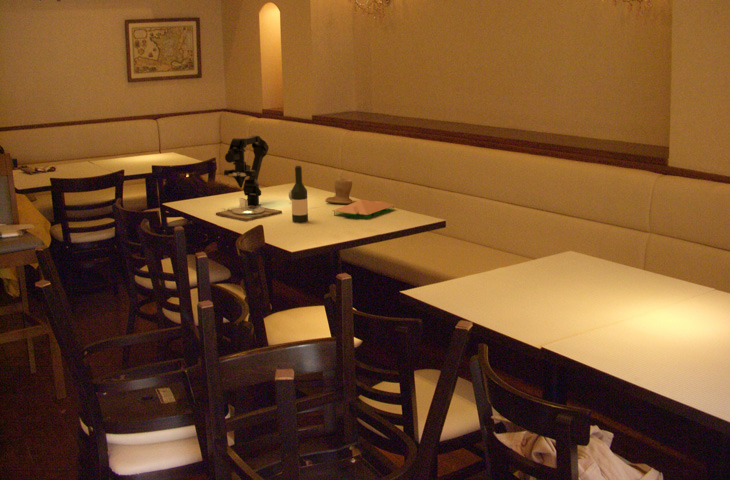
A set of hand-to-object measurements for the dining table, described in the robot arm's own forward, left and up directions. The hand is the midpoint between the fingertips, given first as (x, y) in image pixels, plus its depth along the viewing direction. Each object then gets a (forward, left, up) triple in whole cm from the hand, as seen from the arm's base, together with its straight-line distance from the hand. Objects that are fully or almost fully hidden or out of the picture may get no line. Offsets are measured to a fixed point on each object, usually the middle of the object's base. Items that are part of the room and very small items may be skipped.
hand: (240, 187), depth 424 cm
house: (-35, +62, -14) cm, 73 cm away
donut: (-34, +10, -13) cm, 38 cm away
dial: (+6, +13, -11) cm, 18 cm away
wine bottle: (+1, +49, -13) cm, 51 cm away
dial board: (+6, +13, -13) cm, 19 cm away
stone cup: (-49, +32, -13) cm, 60 cm away
